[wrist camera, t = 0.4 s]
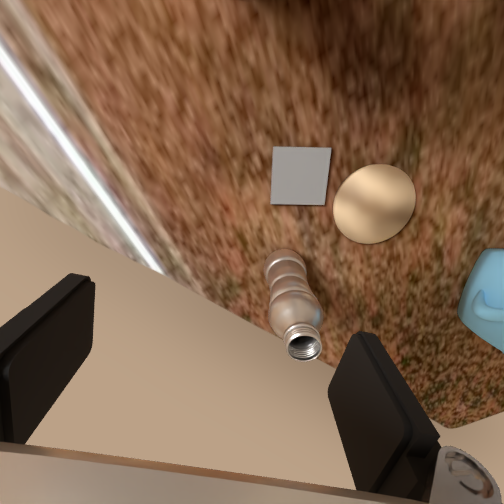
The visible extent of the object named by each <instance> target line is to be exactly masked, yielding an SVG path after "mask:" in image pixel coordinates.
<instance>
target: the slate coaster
mask: <svg viewBox="0 0 504 504" xmlns="http://www.w3.org/2000/svg"><path fill="white" fill-rule="evenodd" d="M330 156H331V148H327V147H280V146H273V157H272V178H271V199H270V203H271V204H297V205H325V197H326V188H327V180H328V172H329V164H330Z"/></svg>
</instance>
